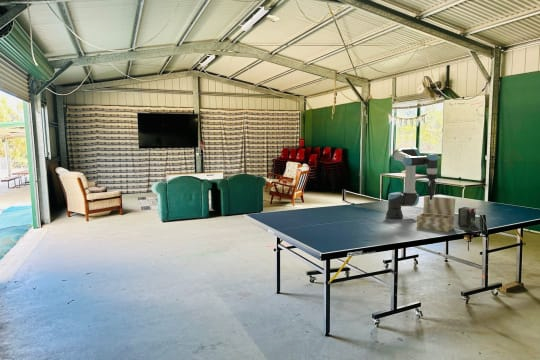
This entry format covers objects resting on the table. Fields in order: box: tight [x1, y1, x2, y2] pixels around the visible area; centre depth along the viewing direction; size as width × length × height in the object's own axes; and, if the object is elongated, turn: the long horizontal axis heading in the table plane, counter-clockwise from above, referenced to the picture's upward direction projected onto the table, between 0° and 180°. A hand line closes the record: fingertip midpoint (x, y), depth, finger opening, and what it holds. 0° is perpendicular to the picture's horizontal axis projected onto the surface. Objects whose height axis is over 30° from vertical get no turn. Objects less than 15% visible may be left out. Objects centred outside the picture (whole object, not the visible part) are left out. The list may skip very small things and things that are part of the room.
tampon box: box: [457, 206, 477, 228], centre depth 291 cm, size 11×9×15 cm
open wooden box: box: [416, 213, 455, 233], centre depth 286 cm, size 24×14×10 cm, turn 47°
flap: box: [423, 195, 456, 217], centre depth 290 cm, size 24×14×1 cm
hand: (431, 203), depth 277 cm, fingers closed
